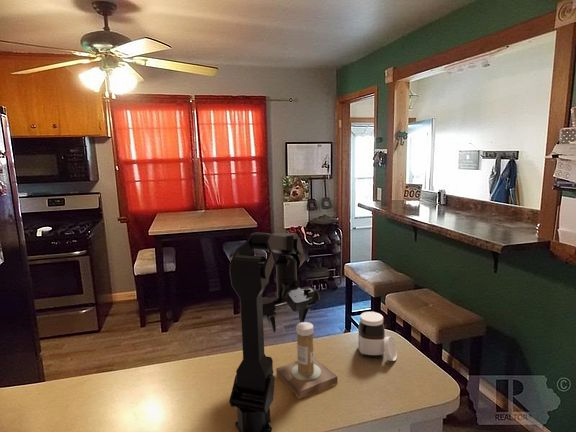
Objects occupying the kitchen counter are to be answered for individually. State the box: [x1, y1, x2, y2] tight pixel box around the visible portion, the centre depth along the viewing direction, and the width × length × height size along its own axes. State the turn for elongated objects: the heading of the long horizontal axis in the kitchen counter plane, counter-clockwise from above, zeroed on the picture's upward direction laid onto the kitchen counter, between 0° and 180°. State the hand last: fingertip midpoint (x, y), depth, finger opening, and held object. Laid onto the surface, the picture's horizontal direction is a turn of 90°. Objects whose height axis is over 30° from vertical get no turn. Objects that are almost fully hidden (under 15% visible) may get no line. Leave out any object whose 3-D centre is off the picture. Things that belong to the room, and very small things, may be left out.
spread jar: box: [357, 311, 398, 362], centre depth 112 cm, size 12×11×12 cm
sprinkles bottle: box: [295, 321, 315, 376], centre depth 100 cm, size 5×5×13 cm
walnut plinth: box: [275, 356, 338, 400], centre depth 102 cm, size 12×12×2 cm
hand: (288, 327), depth 108 cm, fingers open, 9 cm apart
